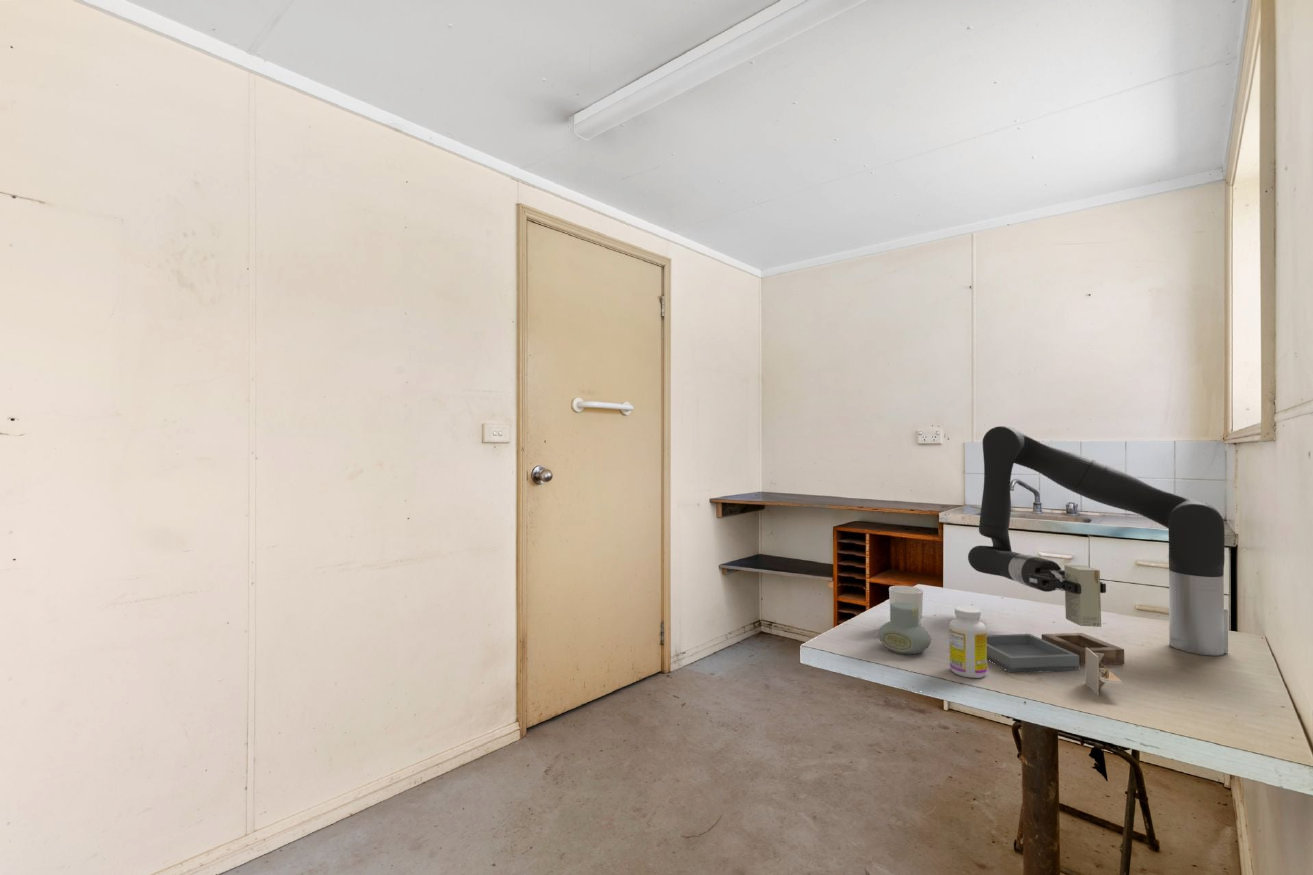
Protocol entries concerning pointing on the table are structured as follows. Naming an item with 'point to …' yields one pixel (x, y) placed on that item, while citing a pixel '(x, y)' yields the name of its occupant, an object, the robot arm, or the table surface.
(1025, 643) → the slate tray
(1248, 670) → the table surface
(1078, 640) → the walnut collar
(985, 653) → the supplement bottle
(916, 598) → the white cup
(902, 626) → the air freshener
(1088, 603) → the skincare box
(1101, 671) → the architectural model
